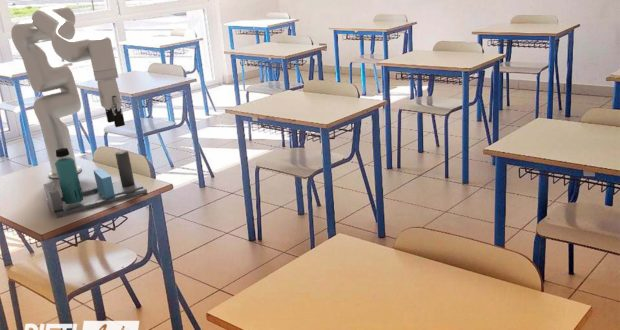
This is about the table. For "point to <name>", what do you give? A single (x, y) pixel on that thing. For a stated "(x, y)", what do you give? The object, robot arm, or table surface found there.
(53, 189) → the clamp frame
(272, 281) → the table surface
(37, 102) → the robot arm
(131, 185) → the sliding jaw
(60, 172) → the beverage bottle
